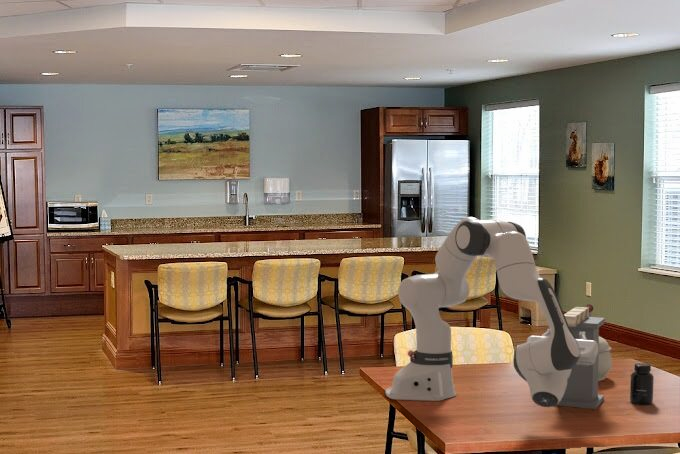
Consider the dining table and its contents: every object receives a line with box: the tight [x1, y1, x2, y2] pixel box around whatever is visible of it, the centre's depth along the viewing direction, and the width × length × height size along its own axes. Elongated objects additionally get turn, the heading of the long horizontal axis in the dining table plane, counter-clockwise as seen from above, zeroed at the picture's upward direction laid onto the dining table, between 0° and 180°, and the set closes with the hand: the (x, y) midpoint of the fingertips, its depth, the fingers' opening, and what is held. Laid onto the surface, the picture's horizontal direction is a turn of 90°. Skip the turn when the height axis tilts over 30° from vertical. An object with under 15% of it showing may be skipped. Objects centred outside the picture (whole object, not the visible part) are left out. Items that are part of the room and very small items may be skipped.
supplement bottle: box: [629, 362, 655, 406], centre depth 306 cm, size 7×7×12 cm
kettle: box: [584, 304, 613, 382], centre depth 343 cm, size 25×18×25 cm
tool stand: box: [556, 316, 606, 410], centre depth 305 cm, size 13×14×26 cm
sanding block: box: [564, 306, 589, 327], centre depth 300 cm, size 21×4×3 cm, turn 155°
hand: (566, 332), depth 290 cm, fingers open, 8 cm apart
